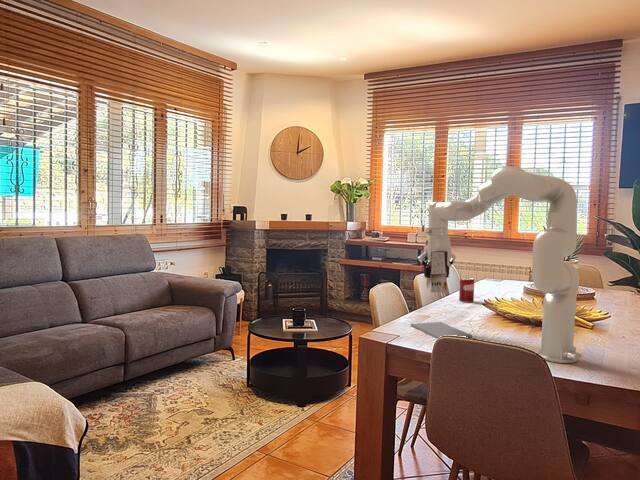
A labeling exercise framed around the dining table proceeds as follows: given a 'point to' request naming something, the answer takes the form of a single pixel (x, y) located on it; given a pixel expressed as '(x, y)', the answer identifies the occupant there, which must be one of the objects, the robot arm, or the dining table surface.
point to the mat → (439, 329)
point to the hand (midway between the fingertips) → (436, 277)
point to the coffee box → (438, 272)
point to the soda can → (466, 290)
